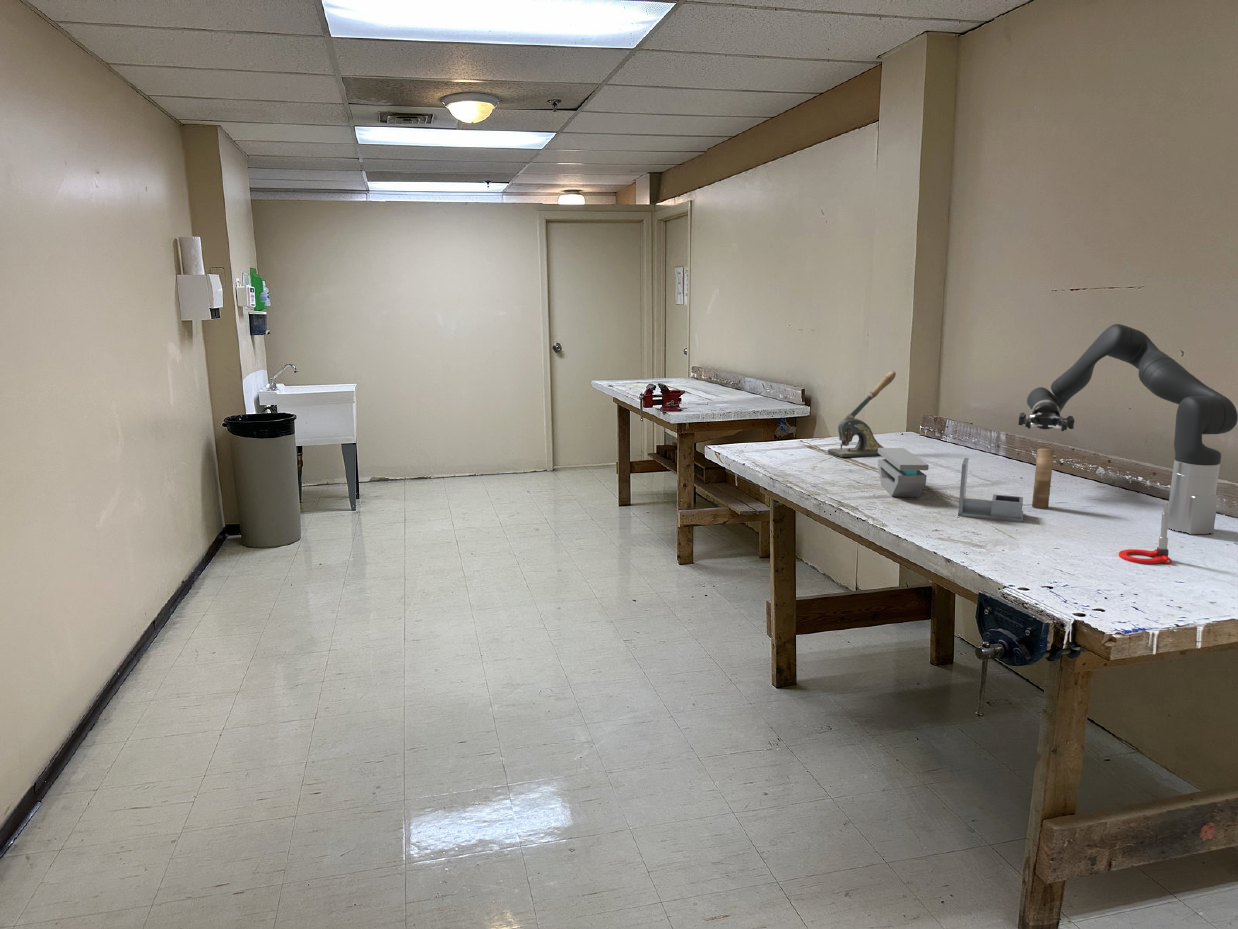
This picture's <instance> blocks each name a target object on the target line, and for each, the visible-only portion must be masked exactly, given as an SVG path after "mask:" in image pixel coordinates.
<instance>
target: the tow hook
mask: <svg viewBox="0 0 1238 929" xmlns="http://www.w3.org/2000/svg"><path fill="white" fill-rule="evenodd" d="M1168 504H1169V503H1167V502H1166V503H1165V502H1164V503H1163V511H1162V512H1161V526H1160V536H1159V537H1158V547H1157V546H1156V549H1153V550H1146V549H1137V548H1136V549H1134V548H1127V549H1123V550H1120V551H1119V552H1118V557H1119V558H1120V559H1121V558H1122V559H1121V560H1124V561H1127V562H1129V563H1136V564H1145V565H1150V564H1151V565H1153V564H1155V565H1156V564H1160V563H1163V564H1164V563H1165V564H1166V565H1171V564H1172V562H1173V559H1172V558H1170V557H1169V549H1168V543H1169V542H1168V541H1169V537H1168V529H1169V528H1168V515H1169V513H1168ZM1131 555H1141V556H1149V558H1139V557H1136V556H1134V557H1133V556H1131ZM1150 557H1151V558H1150Z"/></svg>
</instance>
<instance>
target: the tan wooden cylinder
mask: <svg viewBox="0 0 1238 929" xmlns="http://www.w3.org/2000/svg"><path fill="white" fill-rule="evenodd" d="M1054 455H1055V450H1054V449H1050V448H1037V450H1036V460H1035V461H1036V462H1035V470H1034V471H1035V472H1034V482H1033V492H1032V501H1031V502H1032V503H1031V507H1032V508H1034V509H1038V510H1039V509H1040V510H1046V509H1049V502H1050V495H1051V494H1050V492H1051V484H1052V473H1053V465H1054Z"/></svg>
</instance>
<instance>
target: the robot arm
mask: <svg viewBox="0 0 1238 929" xmlns="http://www.w3.org/2000/svg"><path fill="white" fill-rule="evenodd" d="M1106 356H1107V357H1111V358H1114V359H1116V360H1120V361H1122V362H1125V363H1127V364H1130V365H1131V366H1133V367H1135V368H1136V369H1137V370H1138V378H1139V381H1140V382H1141V383H1142V385H1144V387H1146V389H1148V391H1149V392H1151V393H1152V394H1153V395H1155V396H1157V397H1158V398H1160V399H1162V400H1164V401H1167V402H1170V403H1173V404H1176V405H1178V406H1177V410H1176V415H1175V427H1174V440H1173V448H1174V449H1173V450H1174V461H1173V468H1172V474H1171V476H1172V477H1171V483H1170V491H1169V498H1168V499H1169V500H1168V503H1167V504H1168V513H1169V515H1168V529H1169V528H1170V529H1169V530H1171V529H1172V531H1174V530H1175V532H1178V531H1182V532H1181V533H1183V532H1187V533H1189V534H1188V535H1207V534H1208V535H1210V534H1209V533H1211V534H1212V533H1213V534H1214V530H1215V522H1216V516H1217V511H1218V503H1219V496H1218V495H1216V494H1217V489H1218V488H1217V486H1218V481H1219V474H1220V467H1221V460H1222V453H1221V452H1220V451H1219V450H1217V449H1214V448H1212V447H1209V446H1207V445H1205V444H1204V443H1203V435H1220V434H1225V433H1229V432H1231V431H1232V430H1233V429H1234V428H1235V427H1236V425H1237V423H1238V411H1237V408H1236V406H1235V404H1234V403H1233V402H1232V400H1230V398H1228V397H1226V396H1225V395H1223V394H1221V393H1220V392H1218V391H1216V390H1214V389H1213V388H1211V387H1209V386H1208V385H1206V384H1205V383H1204V382H1202V381H1201V380H1200V379H1198V378H1197V377H1196V376H1194V375H1193V374H1192V373H1190V372H1189V371H1188V370H1187V368H1185V367H1184V366H1182V365H1181V364H1180V363H1179V362H1177V361H1176V360H1175V359H1173V358H1172V357H1171V356H1169V355H1168V354H1166V352H1163V351H1162V350H1160V348H1158V346H1156V344H1155V343H1154V342H1153V341H1152V340H1151V339H1150V337H1149V336H1148V335H1147V334H1146V333H1144V332H1143V331H1141V330H1139V329H1135V328H1133V327H1130V326H1127V325H1124V324H1121V323H1116V324H1115V323H1114V324H1112V325H1109V327H1107V328H1106V329H1105V330H1103V332H1102V333H1100V334H1099V335H1098V337H1096V339H1095V340H1094V341H1093V343H1092V344H1091V345H1090V346H1089V347H1088V348H1087V349H1086V350H1085V352H1083V353H1082V355H1081V356H1080V357H1079V358H1078V359H1077V360H1076V362H1074V364H1073V365H1072V366H1071V367H1070V368H1068V369H1067V370H1066V371H1065V372H1064V373H1062V374H1061V375H1060V376H1058V377H1057V378H1056V379H1055V380H1053V382H1052V383H1051V385H1050V389H1051V391H1050V390H1049V389H1047V387H1046V388H1045V387H1043V386H1041V387H1036V388H1034V389H1033V390H1031V391H1030V393H1028V396H1027V399H1026V403H1027V405H1028V407H1029V408H1030V410H1031V413H1030V415H1027V413H1026V412H1020V413H1019V416H1018V422H1017V423H1018V426H1023V425H1024V427H1025V428H1027V430H1030V429H1031V428H1032V427H1033V428H1035V427H1036V428H1038V429H1039V430H1046V431H1047V430H1051V429H1060V432H1065V431H1067V430H1068V429H1069V430H1074V428H1075V426H1074V425H1075V418H1074V416H1072V415H1068V416H1067V417H1065V418H1064V417H1063V416H1061V412H1062V411H1063V409H1064V408H1065V406H1066V404H1068V401H1070V400H1071V399H1072V398H1073V397H1074V396H1075V395H1076V394H1078V393H1079V392H1080V391H1082V390H1083V389H1084V388H1085V387H1086V386H1087V385H1089V382H1090V381H1091V379H1092V375H1093V373H1094V368H1095V366H1096V364H1097V363H1098V362H1099V361H1101V359H1103V358H1105V357H1106ZM1187 533H1186V534H1187Z"/></svg>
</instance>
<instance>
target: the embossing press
mask: <svg viewBox="0 0 1238 929" xmlns="http://www.w3.org/2000/svg"><path fill="white" fill-rule="evenodd" d="M896 374H897V373H896V371H894V370H891V371H890V372H888V373H886V374H885V375H884V376H883V377H882V378H881V380H880V381H879V382H878V384H877V385H876V386H875V387H873V389H871V390H870V391H869V394H867V396H866V397H865V398H864V399H863V400H862V401H861V402H860V403H859V404H858V405H857V406H856V407H855V408H854V409H852V411H851V412H849V414H847V415H846V416H845V417H844V418H843V419H842V420H841V421H840V422H839V423H838V426H837V430H838V431H837V432H838V435H839V441H841V443H840V444H839V445H840V448H839V447H838V448H828V450H827V452H826V453H827V454H831V455H833V456H836V457H840V458H849V457H850V458H851V457H874V456H875V457H876V456H881V455H880V454H879V453H878V448H885V446H882V445H881V444H880V443H879V442H878V441H877V439H876V438H875V436H874V433H873V431H872V429H871V428H870V426H869V425H868V424H867V422H864V421H863V420H861V419H858V418H856V416H857V415H858V414H859V413H860V412H861V411H862V410H863V408H865V406H866V405H868V403H870V401H872V400H873V399H874V398H877V396H878V395H879V394H880V393H881V392H882V391H883V390H884V389H885V388H886V387H887V386H889V385H890V384H891V383H892V382H893V381H894V379H895V377H896ZM855 435H856V436H858V440H857V443H856V444H855V447H849V444H850V443H851V442H853V438H854V437H855ZM843 446H844V447H843Z"/></svg>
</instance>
